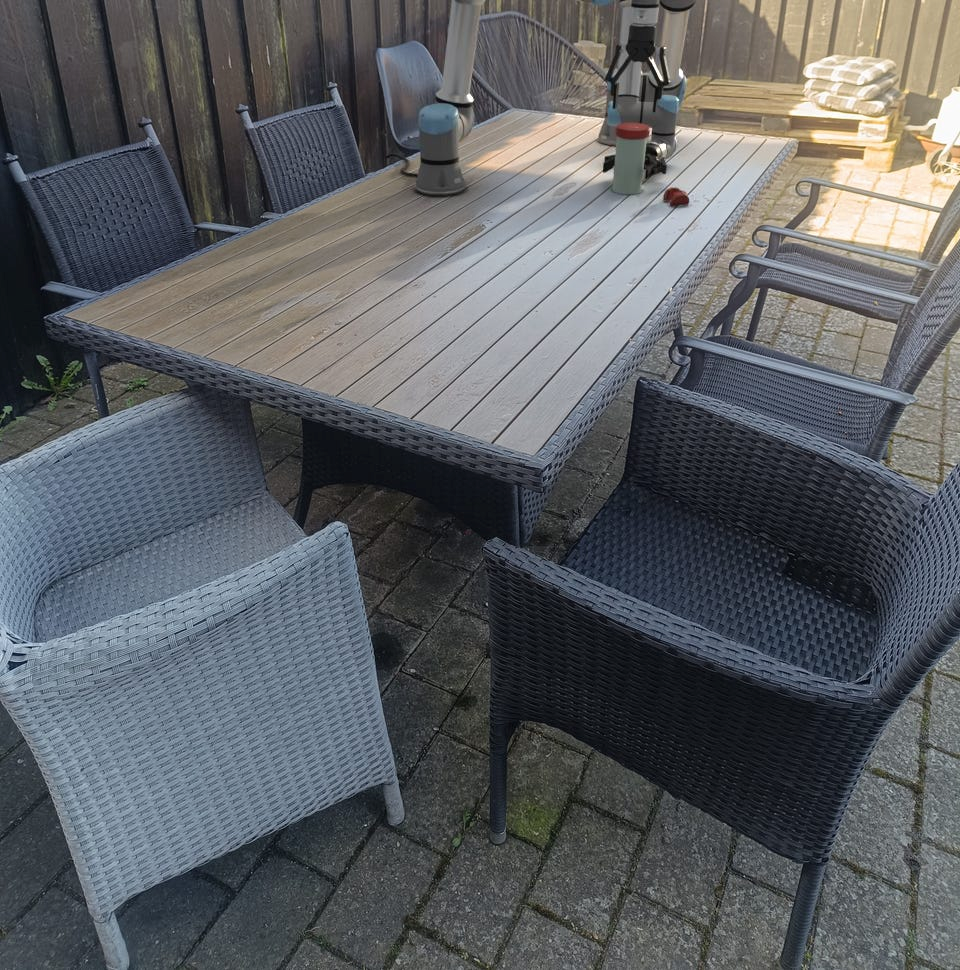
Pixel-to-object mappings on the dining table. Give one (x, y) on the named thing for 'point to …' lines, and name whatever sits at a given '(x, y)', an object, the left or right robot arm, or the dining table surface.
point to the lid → (632, 131)
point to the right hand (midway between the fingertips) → (625, 171)
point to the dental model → (676, 197)
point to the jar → (629, 165)
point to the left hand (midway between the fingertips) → (634, 109)
